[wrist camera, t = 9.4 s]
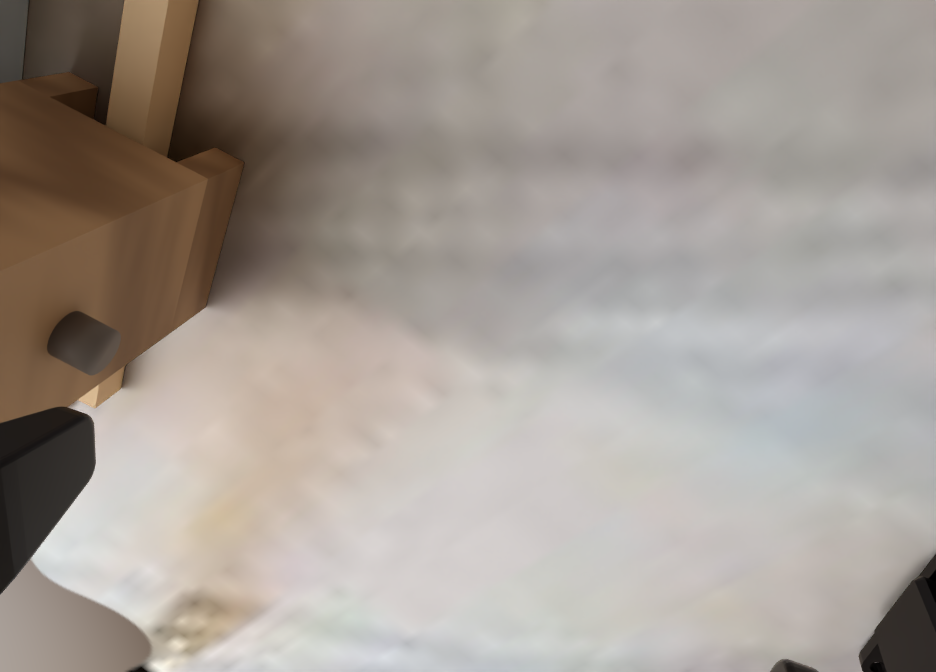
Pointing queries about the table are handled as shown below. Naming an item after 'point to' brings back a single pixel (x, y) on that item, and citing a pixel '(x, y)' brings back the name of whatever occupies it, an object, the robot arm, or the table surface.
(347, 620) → the table surface
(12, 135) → the cabinet
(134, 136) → the wall board
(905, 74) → the table surface
